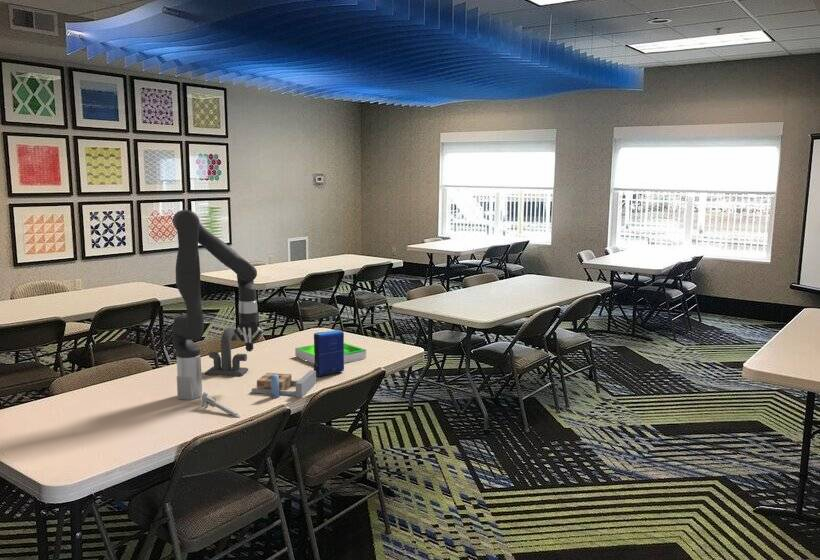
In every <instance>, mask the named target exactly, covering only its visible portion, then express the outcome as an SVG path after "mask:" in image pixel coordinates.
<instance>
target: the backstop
mask: <svg viewBox="0 0 820 560" xmlns="http://www.w3.org/2000/svg"><path fill="white" fill-rule="evenodd" d="M315 384H317V376H316V371H314V369H313V370H309V371H308V372H306V373H305V374H304V375H303V376H302V377H301V378H299V380H292V385H291V386H295V390H279V396H280V395H284V396H295V398H297V399H300V398H301V399H302V398H303V397H305V396H306V394H307V393H309V392H310V390H312V389H311V388H312V387H313V386H314V385H315ZM314 387H315V386H314ZM314 387H313V388H314ZM251 393H253V394H256V393H257V394H267V395H271V389H257V387H256V388H255V387H254V388H253V387H252V388H251Z"/></svg>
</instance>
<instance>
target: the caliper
mask: <svg viewBox="0 0 820 560" xmlns="http://www.w3.org/2000/svg"><path fill="white" fill-rule="evenodd" d="M208 395H209V394H208V392H207V393H206V391H204V392H202V396H201V397H200V403H201V407H203V408H205V409H207V408H208V407H209V406H210V407H212V408H214V407H215V408H217V409H219V410H221V411H222V412H224V413H227V414H228V415H230V416H232V417H234V418H240V417H241V416H240V415H239V413H238V412H236V411H234V410H233V409H230V408H229V407H227V406H225V405H224V404H221V403H220V402H217V400H216V399H214V398H212V397H211V396H208Z"/></svg>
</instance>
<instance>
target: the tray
mask: <svg viewBox="0 0 820 560" xmlns="http://www.w3.org/2000/svg"><path fill="white" fill-rule="evenodd" d="M294 349H295V356H296V357H295V358H297V357H299V358H301V359H300V360H302V359H304V360H303V361H305V360H307V361H309V362H308V363H310V362H311V363H310V364H312V363H315V358H314V357H315V353H314V344H310V345H305V346H301V347H300V346H299V347H295V348H294ZM299 358H298V359H299ZM365 358H366V359H367V349H365V348H362V347H359V346H356V345H352V344H350V343H346V342H344V363H345V364H348V363H347V362H349V363H353V362H357V361H356V360H358V361H361V360H360V359H362V360H366V359H365ZM307 361H306V362H307ZM352 361H353V362H352Z"/></svg>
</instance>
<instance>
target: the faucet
mask: <svg viewBox="0 0 820 560" xmlns="http://www.w3.org/2000/svg"><path fill="white" fill-rule="evenodd" d="M235 329H236V328H233V327H227V328H225V329H224V330H223V332H222V333H221V334H222V335H221V336H220V337H221V338H220V354H219V352H217V351H214V350H211V351H209V353H208V357H209V358H210V359H212V360H213V366H212V367H210V368H209V369H207V370H206V371H205V372H204V375H205V376H218V375H222V377H223V376H224V377H243V376H244V375H246V373H248V372H249V368H247V367H241V363H240V362H247V359H248V354H247V353H236V354H235V355H233V357H232V345H231V344H232V342H236V341H238V340H239V337H238V336H237V335H236V333H235V332H234V330H235ZM247 371H248V372H247Z"/></svg>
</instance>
